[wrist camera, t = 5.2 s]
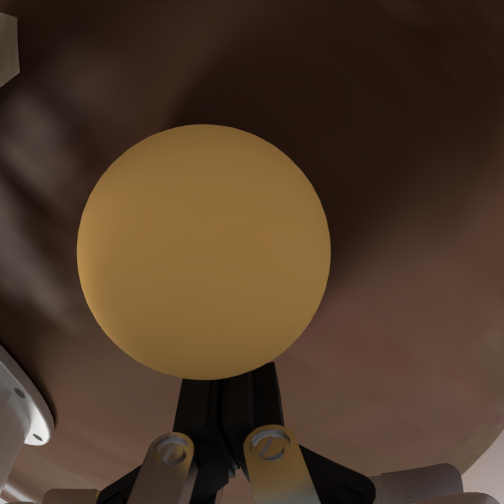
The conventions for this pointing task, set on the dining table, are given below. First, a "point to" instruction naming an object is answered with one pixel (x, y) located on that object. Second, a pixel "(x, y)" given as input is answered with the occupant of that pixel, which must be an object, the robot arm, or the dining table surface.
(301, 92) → the dining table surface
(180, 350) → the ball
